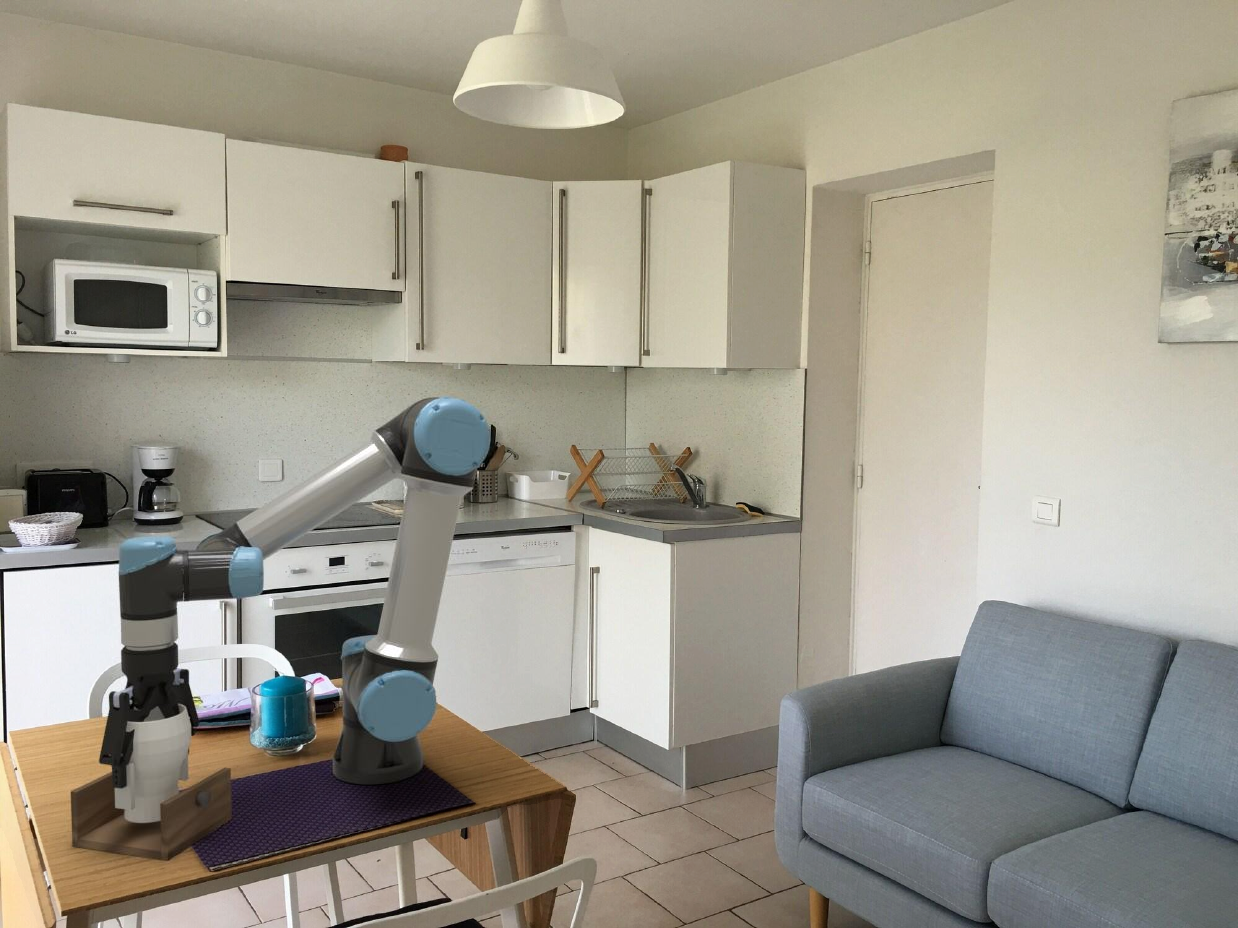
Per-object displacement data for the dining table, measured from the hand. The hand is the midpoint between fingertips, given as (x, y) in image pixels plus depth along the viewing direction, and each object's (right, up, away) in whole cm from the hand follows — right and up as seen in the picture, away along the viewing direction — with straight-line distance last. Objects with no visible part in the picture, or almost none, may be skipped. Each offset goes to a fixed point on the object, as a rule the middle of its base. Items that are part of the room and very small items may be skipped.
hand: (153, 792), depth 149 cm
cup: (0, -3, 0) cm, 3 cm away
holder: (0, -6, 0) cm, 6 cm away
